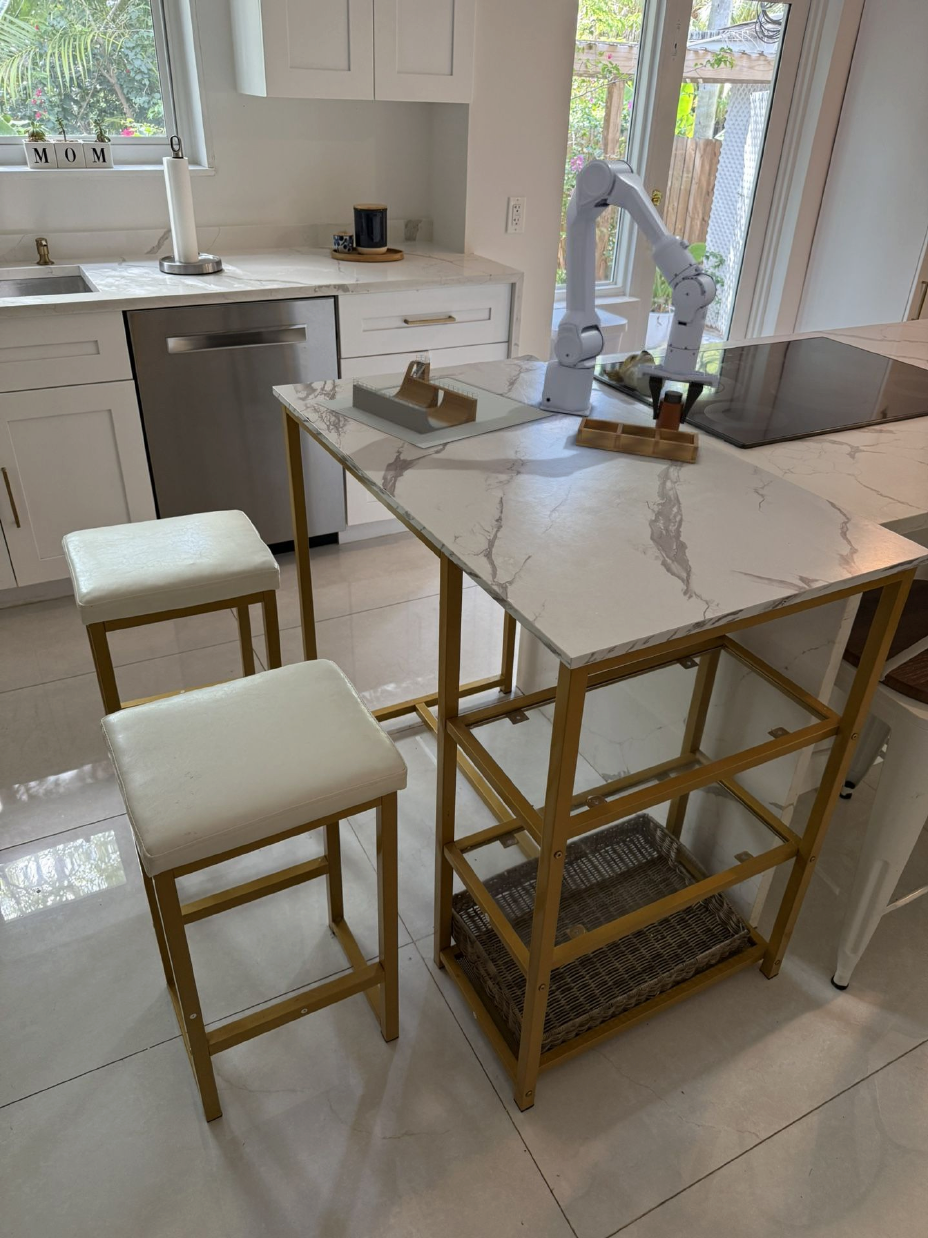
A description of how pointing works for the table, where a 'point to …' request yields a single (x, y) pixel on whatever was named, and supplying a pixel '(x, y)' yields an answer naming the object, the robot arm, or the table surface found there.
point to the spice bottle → (670, 411)
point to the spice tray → (638, 439)
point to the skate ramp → (432, 408)
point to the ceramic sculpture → (634, 372)
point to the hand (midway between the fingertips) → (668, 420)
